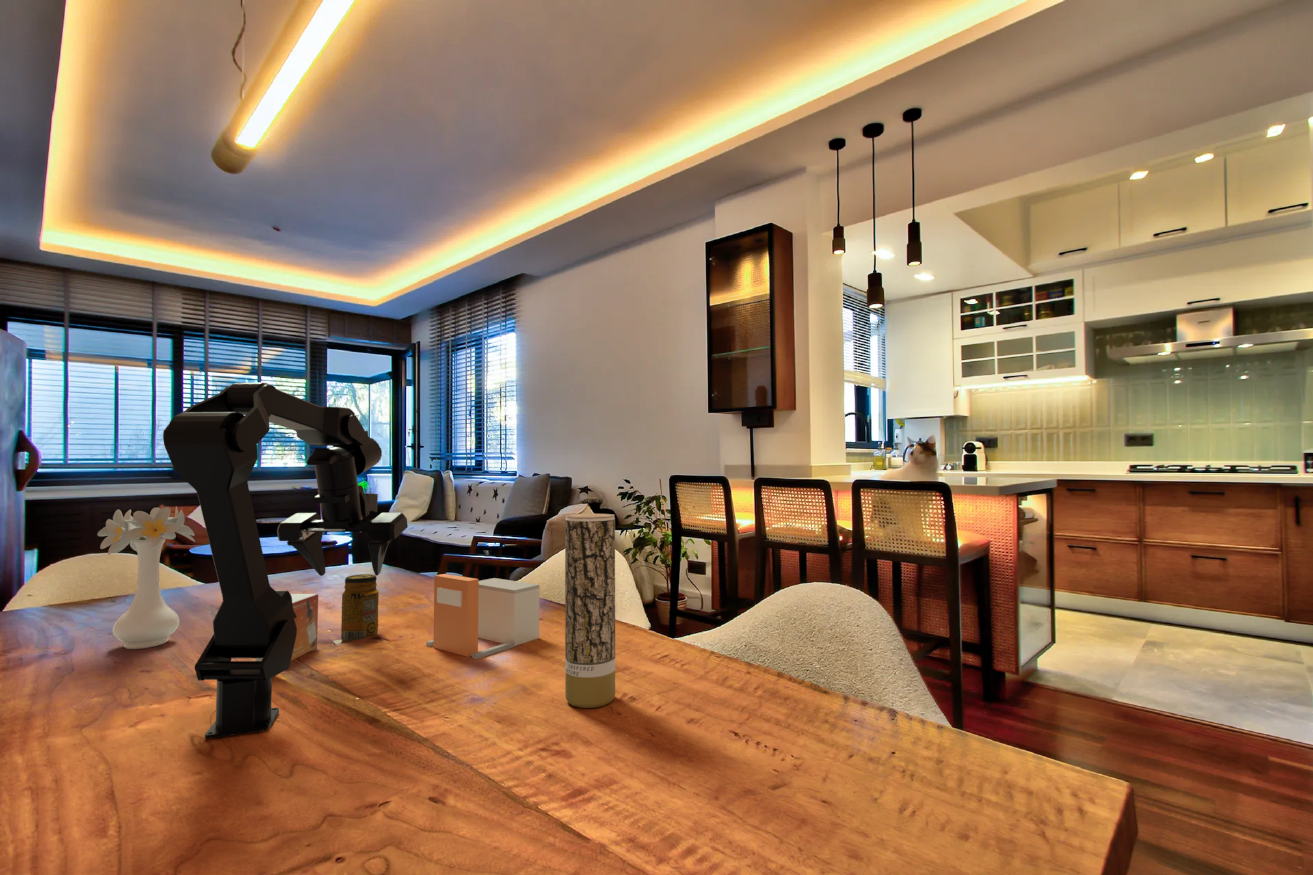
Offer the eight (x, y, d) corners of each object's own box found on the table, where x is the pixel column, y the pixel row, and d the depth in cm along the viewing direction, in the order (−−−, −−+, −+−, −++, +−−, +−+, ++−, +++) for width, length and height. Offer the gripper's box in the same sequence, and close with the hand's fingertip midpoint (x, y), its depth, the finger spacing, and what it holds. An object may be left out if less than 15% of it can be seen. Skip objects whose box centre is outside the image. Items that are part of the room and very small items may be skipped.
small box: (289, 671, 96) (290, 603, 96) (253, 671, 96) (255, 603, 96) (318, 655, 104) (319, 592, 104) (285, 655, 104) (287, 593, 104)
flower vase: (147, 631, 120) (151, 503, 121) (213, 639, 114) (217, 504, 115) (65, 650, 108) (70, 507, 109) (134, 660, 102) (139, 509, 103)
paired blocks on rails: (448, 679, 92) (448, 606, 92) (394, 662, 100) (395, 595, 100) (544, 646, 108) (544, 584, 108) (492, 634, 116) (492, 577, 116)
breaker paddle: (465, 657, 97) (465, 581, 98) (430, 648, 102) (431, 575, 103) (478, 653, 99) (478, 579, 100) (443, 644, 104) (444, 573, 105)
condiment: (374, 635, 116) (375, 571, 117) (387, 644, 110) (388, 577, 110) (332, 642, 112) (333, 576, 112) (343, 652, 105) (344, 582, 106)
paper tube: (607, 711, 79) (607, 517, 80) (557, 707, 80) (558, 517, 82) (621, 692, 86) (620, 513, 87) (574, 689, 87) (574, 513, 88)
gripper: (415, 470, 106) (424, 553, 109) (308, 471, 106) (320, 554, 110) (387, 491, 95) (398, 582, 99) (268, 491, 95) (283, 583, 99)
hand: (350, 574), depth 102 cm, fingers open, 9 cm apart
